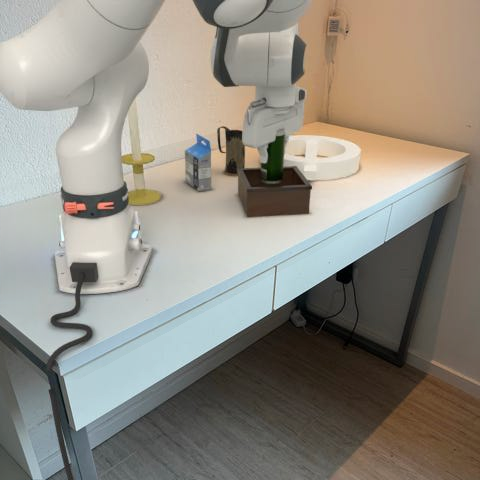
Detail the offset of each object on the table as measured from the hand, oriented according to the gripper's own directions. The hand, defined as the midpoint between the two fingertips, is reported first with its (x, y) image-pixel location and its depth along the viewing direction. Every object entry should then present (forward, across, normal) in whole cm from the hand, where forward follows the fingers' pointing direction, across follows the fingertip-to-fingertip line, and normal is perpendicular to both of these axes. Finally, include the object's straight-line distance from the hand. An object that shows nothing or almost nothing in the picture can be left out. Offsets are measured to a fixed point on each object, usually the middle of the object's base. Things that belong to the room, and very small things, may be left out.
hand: (272, 159), depth 121 cm
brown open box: (+11, 0, 0) cm, 11 cm away
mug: (+11, +14, +22) cm, 28 cm away
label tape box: (+11, 0, +22) cm, 25 cm away
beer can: (+5, 0, 0) cm, 5 cm away
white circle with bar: (+11, +33, +8) cm, 36 cm away
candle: (+11, -16, +28) cm, 34 cm away
